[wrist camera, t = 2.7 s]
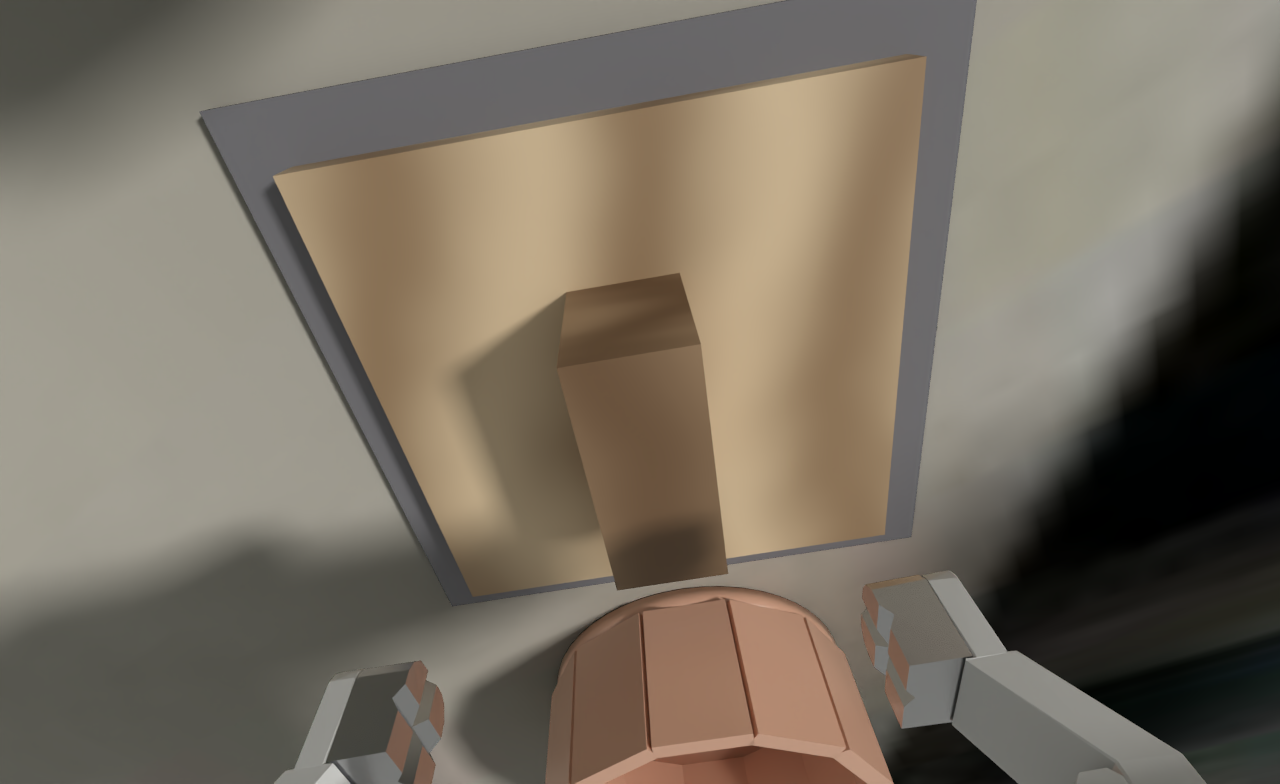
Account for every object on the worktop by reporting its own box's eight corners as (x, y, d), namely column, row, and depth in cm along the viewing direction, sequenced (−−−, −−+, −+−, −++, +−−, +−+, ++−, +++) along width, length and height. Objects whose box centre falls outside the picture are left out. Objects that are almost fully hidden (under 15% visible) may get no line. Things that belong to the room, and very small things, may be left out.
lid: (907, 54, 14) (1038, 70, 10) (873, 514, 22) (938, 633, 18) (292, 167, 15) (164, 228, 10) (477, 575, 23) (448, 703, 18)
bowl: (841, 565, 24) (905, 712, 19) (835, 734, 31) (881, 875, 26) (525, 612, 24) (505, 768, 19) (589, 768, 31) (586, 912, 26)
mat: (971, -35, 13) (980, -37, 13) (906, 529, 23) (911, 537, 23) (208, 109, 14) (199, 111, 14) (454, 597, 24) (452, 606, 23)
